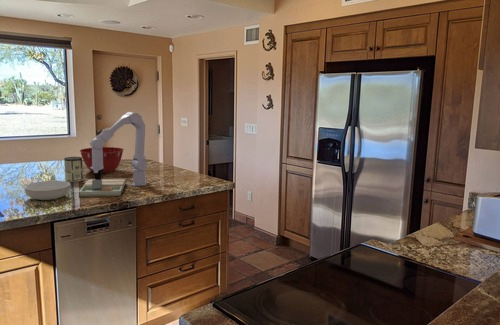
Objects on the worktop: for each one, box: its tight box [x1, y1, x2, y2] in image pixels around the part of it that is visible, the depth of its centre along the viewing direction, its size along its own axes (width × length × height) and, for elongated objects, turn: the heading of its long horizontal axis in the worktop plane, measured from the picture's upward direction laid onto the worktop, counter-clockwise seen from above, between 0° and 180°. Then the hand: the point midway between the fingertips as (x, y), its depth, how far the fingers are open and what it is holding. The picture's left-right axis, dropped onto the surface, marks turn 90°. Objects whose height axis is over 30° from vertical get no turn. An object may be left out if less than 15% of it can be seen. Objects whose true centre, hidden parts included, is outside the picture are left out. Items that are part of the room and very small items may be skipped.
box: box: [78, 186, 124, 198], centre depth 212 cm, size 13×21×3 cm, turn 103°
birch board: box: [82, 178, 126, 189], centre depth 226 cm, size 16×21×3 cm
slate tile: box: [92, 180, 102, 189], centre depth 216 cm, size 5×5×2 cm
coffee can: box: [63, 156, 84, 183], centre depth 239 cm, size 10×10×14 cm
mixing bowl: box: [79, 146, 125, 174], centre depth 267 cm, size 28×28×15 cm
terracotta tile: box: [102, 187, 113, 191], centre depth 213 cm, size 5×5×2 cm
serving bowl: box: [23, 180, 71, 201], centre depth 199 cm, size 21×21×7 cm
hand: (98, 182), depth 220 cm, fingers closed
